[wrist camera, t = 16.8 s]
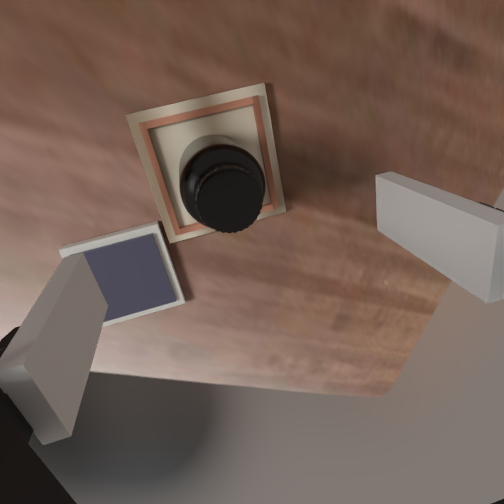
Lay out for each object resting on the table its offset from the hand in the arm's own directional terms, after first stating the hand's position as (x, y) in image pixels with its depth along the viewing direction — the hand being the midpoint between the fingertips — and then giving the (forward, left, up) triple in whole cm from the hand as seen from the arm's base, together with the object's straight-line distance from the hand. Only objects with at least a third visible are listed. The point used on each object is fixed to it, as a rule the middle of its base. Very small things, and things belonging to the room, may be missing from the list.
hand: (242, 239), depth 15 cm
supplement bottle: (+1, -1, -21) cm, 21 cm away
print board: (+1, -1, -22) cm, 22 cm away
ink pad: (-11, -10, -22) cm, 26 cm away
